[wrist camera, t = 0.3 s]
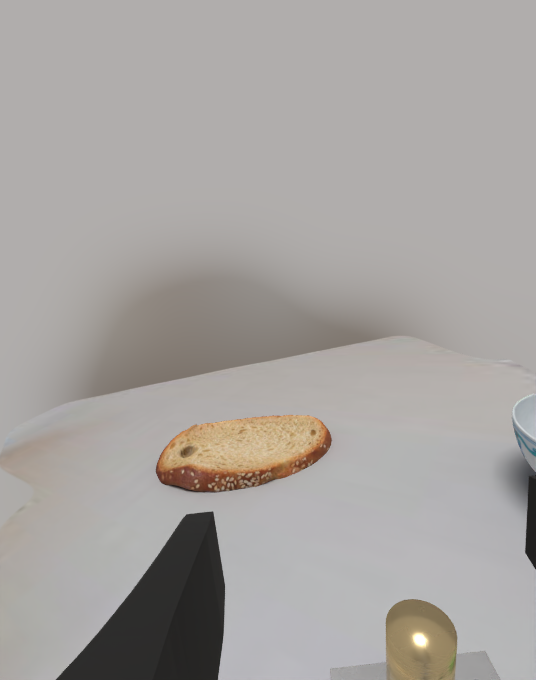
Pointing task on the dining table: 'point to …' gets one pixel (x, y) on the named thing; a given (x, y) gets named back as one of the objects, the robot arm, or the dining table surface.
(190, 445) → the bread slice
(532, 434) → the chinaware
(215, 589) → the robot arm
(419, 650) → the jaw
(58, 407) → the dining table surface
